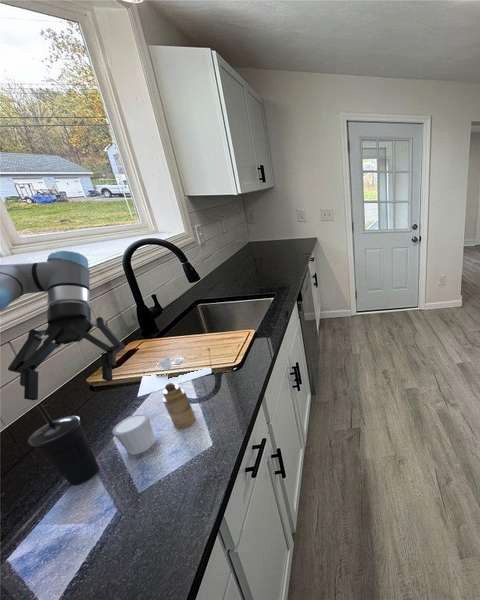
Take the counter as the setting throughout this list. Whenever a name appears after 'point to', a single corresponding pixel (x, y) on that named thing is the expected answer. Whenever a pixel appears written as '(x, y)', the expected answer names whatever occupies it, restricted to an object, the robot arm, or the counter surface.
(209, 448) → the counter surface
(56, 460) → the drinking cup
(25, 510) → the counter surface
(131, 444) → the white short cylinder
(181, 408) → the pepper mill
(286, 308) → the counter surface
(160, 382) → the teacup and saucer
